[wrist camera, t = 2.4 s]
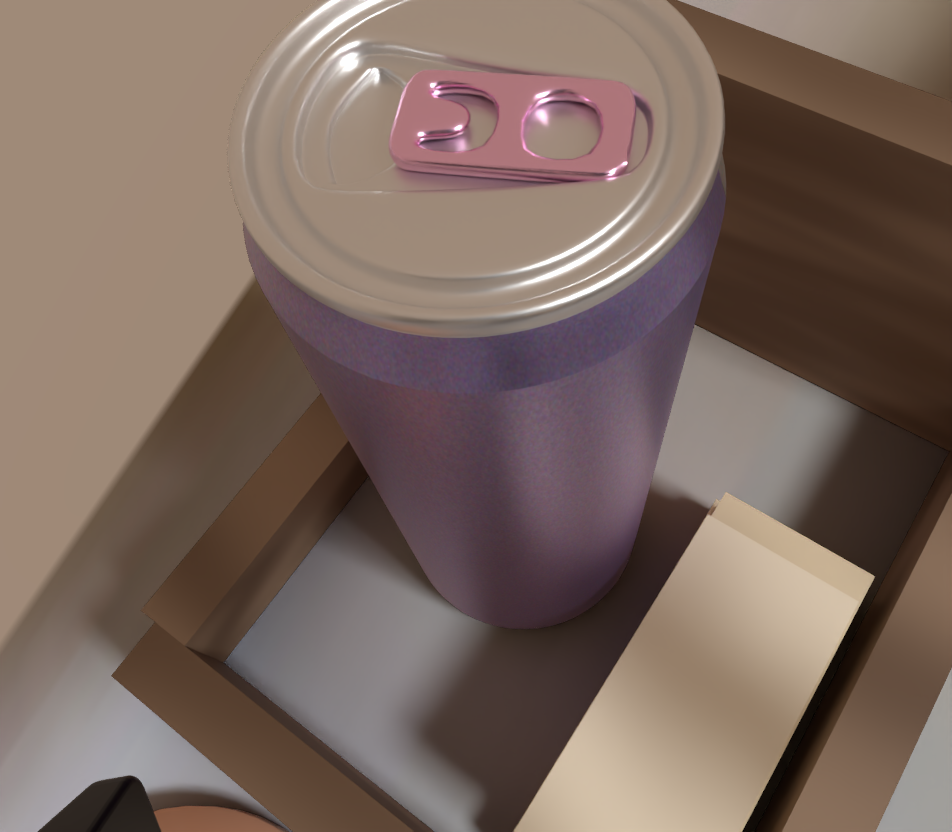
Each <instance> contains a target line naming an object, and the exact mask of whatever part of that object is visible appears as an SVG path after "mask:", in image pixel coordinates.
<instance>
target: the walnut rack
mask: <svg viewBox="0 0 952 832" xmlns="http://www.w3.org/2000/svg"><path fill="white" fill-rule="evenodd" d="M667 1H668V2H669V3H670V4H671V5H672V6H674V7H675V8H676V9H677V10H678V11H679V12H680V13H681V14H682V15H683V17H684V18H685V19H686V20H687V21H688V22H689V24H690V25H691V26H692V27H693V28H694V30H695V31H696V33H697V34H698V36H699V37H700V39H701V40H702V42H703V43H704V45H705V47H706V49H707V51H708V53H709V55H710V56H711V59H712V61H713V63H714V66H715V68H716V70H717V74H718V77H719V80H720V84H721V88H722V93H723V98H724V109H725V136H724V144H723V151H722V154H723V160H724V165H725V174H726V202H725V210H724V216H723V221H722V225H721V229H720V233H719V237H718V240H717V244H716V248H715V251H714V255H713V259H712V262H711V266H710V269H709V273H708V277H707V280H706V284H705V288H704V291H703V295H702V299H701V302H700V306H699V310H698V313H697V317H696V320H695V324H696V325H698V326H700V327H702V328H704V329H706V330H708V331H710V332H712V333H714V334H716V335H718V336H720V337H722V338H724V339H726V340H728V341H730V342H732V343H734V344H736V345H738V346H740V347H742V348H744V349H746V350H748V351H750V352H752V353H754V354H756V355H758V356H760V357H762V358H764V359H766V360H768V361H770V362H772V363H774V364H776V365H778V366H780V367H782V368H784V369H786V370H788V371H790V372H792V373H794V374H796V375H798V376H800V377H802V378H804V379H806V380H808V381H810V382H812V383H814V384H816V385H818V386H820V387H822V388H824V389H826V390H828V391H830V392H832V393H834V394H836V395H838V396H840V397H842V398H844V399H846V400H848V401H850V402H852V403H854V404H856V405H858V406H860V407H862V408H864V409H866V410H868V411H870V412H872V413H874V414H876V415H878V416H880V417H882V418H884V419H886V420H888V421H890V422H892V423H894V424H896V425H898V426H900V427H902V428H904V429H906V430H908V431H910V432H912V433H914V434H916V435H918V436H920V437H922V438H924V439H926V440H928V441H930V442H932V443H934V444H936V445H938V446H940V447H942V448H944V449H946V450H948V451H949V453H948V455H947V457H946V459H945V461H944V463H943V465H942V467H941V469H940V471H939V473H938V475H937V477H936V479H935V481H934V483H933V485H932V487H931V488H930V490H929V492H928V494H927V496H926V498H925V500H924V502H923V504H922V506H921V508H920V510H919V512H918V514H917V516H916V518H915V520H914V522H913V524H912V526H911V528H910V529H909V531H908V533H907V535H906V537H905V539H904V541H903V543H902V545H901V547H900V549H899V551H898V553H897V555H896V557H895V559H894V561H893V563H892V565H891V567H890V569H889V570H888V572H887V574H886V576H885V578H884V580H883V582H882V584H881V586H880V588H879V590H878V592H877V594H876V596H875V598H874V600H873V602H872V604H871V606H870V608H869V609H868V611H867V613H866V615H865V617H864V619H863V621H862V623H861V625H860V627H859V629H858V631H857V633H856V635H855V637H854V639H853V641H852V643H851V645H850V647H849V649H848V650H847V652H846V654H845V656H844V658H843V660H842V662H841V664H840V666H839V668H838V670H837V672H836V674H835V676H834V678H833V680H832V682H831V684H830V686H829V688H828V690H827V691H826V693H825V695H824V697H823V699H822V701H821V703H820V705H819V707H818V709H817V711H816V713H815V715H814V717H813V719H812V721H811V723H810V725H809V727H808V729H807V731H806V732H805V734H804V736H803V738H802V740H801V742H800V744H799V746H798V748H797V750H796V752H795V754H794V756H793V758H792V760H791V762H790V764H789V766H788V768H787V770H786V771H785V773H784V775H783V777H782V779H781V781H780V783H779V785H778V787H777V789H776V791H775V793H774V795H773V797H772V799H771V801H770V803H769V805H768V807H767V809H766V811H765V812H764V814H763V816H762V818H761V820H760V822H759V824H758V826H757V828H756V830H755V832H876V829H877V827H878V825H879V823H880V821H881V819H882V816H883V814H884V812H885V810H886V808H887V806H888V804H889V801H890V799H891V797H892V795H893V793H894V791H895V788H896V786H897V784H898V782H899V780H900V778H901V776H902V773H903V771H904V769H905V767H906V765H907V763H908V760H909V758H910V756H911V754H912V752H913V750H914V748H915V745H916V743H917V741H918V739H919V737H920V735H921V732H922V730H923V728H924V726H925V724H926V722H927V720H928V717H929V715H930V713H931V711H932V709H933V707H934V704H935V702H936V700H937V698H938V696H939V694H940V692H941V689H942V687H943V685H944V683H945V681H946V679H947V676H948V674H949V672H950V670H951V668H952V102H951V101H949V100H946V99H943V98H941V97H938V96H935V95H932V94H930V93H927V92H924V91H922V90H919V89H916V88H913V87H911V86H908V85H905V84H903V83H900V82H897V81H895V80H892V79H889V78H886V77H884V76H881V75H878V74H876V73H873V72H870V71H867V70H865V69H862V68H859V67H857V66H854V65H851V64H848V63H846V62H843V61H840V60H838V59H835V58H832V57H829V56H827V55H824V54H821V53H819V52H816V51H813V50H810V49H808V48H805V47H802V46H800V45H797V44H794V43H791V42H789V41H786V40H783V39H781V38H778V37H775V36H773V35H770V34H767V33H764V32H762V31H759V30H756V29H754V28H751V27H748V26H745V25H743V24H740V23H737V22H735V21H732V20H729V19H726V18H724V17H721V16H718V15H716V14H713V13H710V12H707V11H705V10H702V9H699V8H697V7H694V6H691V5H688V4H686V3H683V2H680V1H678V0H667ZM368 476H369V475H368V473H367V472H366V470H365V468H364V466H363V465H362V463H361V461H360V459H359V458H358V456H357V454H356V452H355V451H354V449H353V447H352V446H351V444H350V442H349V440H348V439H347V437H346V435H345V433H344V432H343V430H342V428H341V426H340V425H339V423H338V421H337V419H336V418H335V416H334V414H333V413H332V411H331V409H330V407H329V406H328V404H327V402H326V400H325V399H324V397H323V395H322V393H321V394H320V395H319V396H318V397H317V398H316V400H315V401H314V402H313V403H312V405H311V406H310V407H309V408H308V409H307V411H306V412H305V413H304V414H303V415H302V417H301V418H300V419H299V420H298V421H297V423H296V424H295V425H294V426H293V427H292V429H291V430H290V431H289V432H288V433H287V435H286V436H285V437H284V438H283V440H282V441H281V442H280V443H279V444H278V446H277V447H276V448H275V449H274V450H273V452H272V453H271V454H270V455H269V456H268V458H267V459H266V460H265V461H264V462H263V464H262V465H261V466H260V467H259V468H258V470H257V471H256V472H255V473H254V474H253V476H252V477H251V478H250V479H249V481H248V482H247V483H246V484H245V485H244V487H243V488H242V489H241V490H240V491H239V493H238V494H237V495H236V496H235V497H234V499H233V500H232V501H231V502H230V503H229V505H228V506H227V507H226V508H225V509H224V511H223V512H222V513H221V514H220V515H219V517H218V518H217V519H216V520H215V522H214V523H213V524H212V525H211V526H210V528H209V529H208V530H207V531H206V532H205V534H204V535H203V536H202V537H201V538H200V540H199V541H198V542H197V543H196V544H195V546H194V547H193V548H192V549H191V550H190V552H189V553H188V554H187V555H186V556H185V558H184V559H183V560H182V561H181V563H180V564H179V565H178V566H177V567H176V569H175V570H174V571H173V572H172V573H171V575H170V576H169V577H168V578H167V579H166V581H165V582H164V583H163V584H162V585H161V587H160V588H159V589H158V590H157V591H156V593H155V594H154V595H153V596H152V598H151V599H150V600H149V601H148V602H147V604H146V605H145V606H144V607H143V608H142V610H141V611H142V612H143V613H145V614H146V615H147V616H148V617H150V618H151V619H152V620H153V621H154V622H155V623H154V624H153V625H152V627H151V628H150V629H149V630H148V631H147V633H146V634H145V635H144V636H143V638H142V639H141V640H140V641H139V642H138V644H137V645H136V646H135V647H134V649H133V650H132V651H131V652H130V653H129V655H128V656H127V657H126V658H125V660H124V661H123V662H122V663H121V664H120V666H119V667H118V668H117V669H116V671H115V672H114V673H113V674H112V675H111V676H112V677H113V678H114V679H116V680H117V681H118V682H119V683H120V684H121V685H123V686H124V687H125V688H126V689H127V690H128V691H130V692H131V693H132V694H133V695H134V696H135V697H137V698H138V699H139V700H140V701H141V702H142V703H144V704H145V705H146V706H147V707H148V708H149V709H151V710H152V711H153V712H154V713H155V714H156V715H158V716H159V717H160V718H161V719H162V720H163V721H165V722H166V723H167V724H168V725H169V726H170V727H172V728H173V729H174V730H175V731H176V732H177V733H179V734H180V735H181V736H182V737H183V738H184V739H186V740H187V741H188V742H189V743H190V744H191V745H193V746H194V747H195V748H196V749H197V750H198V751H199V752H201V753H202V754H203V755H204V756H205V757H206V758H208V759H209V760H210V761H211V762H212V763H213V764H215V765H216V766H217V767H218V768H219V769H220V770H222V771H223V772H224V773H225V774H226V775H227V776H229V777H230V778H231V779H232V780H233V781H234V782H236V783H237V784H238V785H239V786H240V787H241V788H243V789H244V790H245V791H246V792H247V793H248V794H250V795H251V796H252V797H253V798H254V799H255V800H257V801H258V802H259V803H260V804H261V805H262V806H264V807H265V808H266V809H267V810H268V811H269V812H271V813H272V814H273V815H274V816H275V817H276V818H278V819H279V820H280V821H281V822H282V823H283V824H285V825H286V826H287V827H288V828H289V829H290V830H292V831H293V832H434V831H433V830H432V829H430V828H429V827H428V826H427V825H425V824H424V823H423V822H422V821H420V820H419V819H418V818H417V817H415V816H414V815H413V814H412V813H410V812H409V811H408V810H407V809H405V808H404V807H403V806H402V805H400V804H399V803H398V802H397V801H395V800H394V799H393V798H392V797H390V796H389V795H388V794H387V793H385V792H384V791H383V790H382V789H380V788H379V787H378V786H377V785H375V784H374V783H373V782H372V781H370V780H369V779H368V778H367V777H365V776H364V775H363V774H362V773H360V772H359V771H358V770H357V769H355V768H354V767H353V766H352V765H350V764H349V763H348V762H347V761H345V760H344V759H343V758H342V757H340V756H339V755H338V754H337V753H335V752H334V751H333V750H332V749H330V748H329V747H328V746H327V745H325V744H324V743H323V742H322V741H320V740H319V739H318V738H317V737H315V736H314V735H313V734H312V733H310V732H309V731H308V730H307V729H305V728H304V727H303V726H302V725H300V724H299V723H298V722H297V721H295V720H294V719H293V718H292V717H290V716H289V715H288V714H287V713H285V712H284V711H283V710H282V709H280V708H279V707H278V706H277V705H275V704H274V703H273V702H272V701H270V700H269V699H268V698H267V697H266V696H264V695H263V694H262V693H261V692H259V691H258V690H257V689H256V688H254V687H253V686H252V685H251V684H249V683H248V682H247V681H246V680H244V679H243V678H242V677H241V676H239V675H238V674H237V673H236V672H234V671H233V670H232V669H231V668H229V667H228V666H227V665H226V664H224V661H225V660H226V659H227V657H228V656H229V655H230V654H231V652H232V651H233V650H234V648H235V647H236V646H237V645H238V643H239V642H240V641H241V639H242V638H243V637H244V636H245V634H246V633H247V632H248V630H249V629H250V628H251V626H252V625H253V624H254V623H255V621H256V620H257V619H258V617H259V616H260V615H261V614H262V612H263V611H264V610H265V608H266V607H267V606H268V605H269V603H270V602H271V601H272V599H273V598H274V597H275V596H276V594H277V593H278V592H279V590H280V589H281V588H282V587H283V585H284V584H285V583H286V581H287V580H288V579H289V577H290V576H291V575H292V574H293V572H294V571H295V570H296V568H297V567H298V566H299V565H300V563H301V562H302V561H303V559H304V558H305V557H306V556H307V554H308V553H309V552H310V550H311V549H312V548H313V547H314V545H315V544H316V543H317V541H318V540H319V539H320V538H321V536H322V535H323V534H324V532H325V531H326V530H327V528H328V527H329V526H330V525H331V523H332V522H333V521H334V519H335V518H336V517H337V516H338V514H339V513H340V512H341V510H342V509H343V508H344V507H345V505H346V504H347V503H348V501H349V500H350V499H351V498H352V496H353V495H354V494H355V492H356V491H357V490H358V489H359V487H360V486H361V485H362V483H363V482H364V481H365V479H366V478H367V477H368Z"/></svg>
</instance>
